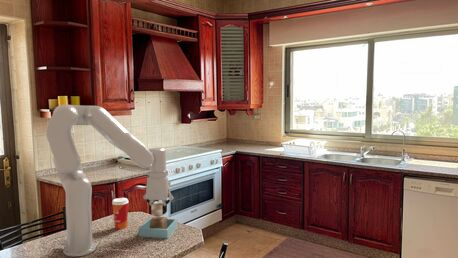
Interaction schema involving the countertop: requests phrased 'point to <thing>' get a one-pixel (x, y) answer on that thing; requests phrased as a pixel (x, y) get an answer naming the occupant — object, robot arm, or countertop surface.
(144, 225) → the tote
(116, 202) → the paper cup
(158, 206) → the birch block
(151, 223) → the walnut block
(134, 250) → the countertop surface
